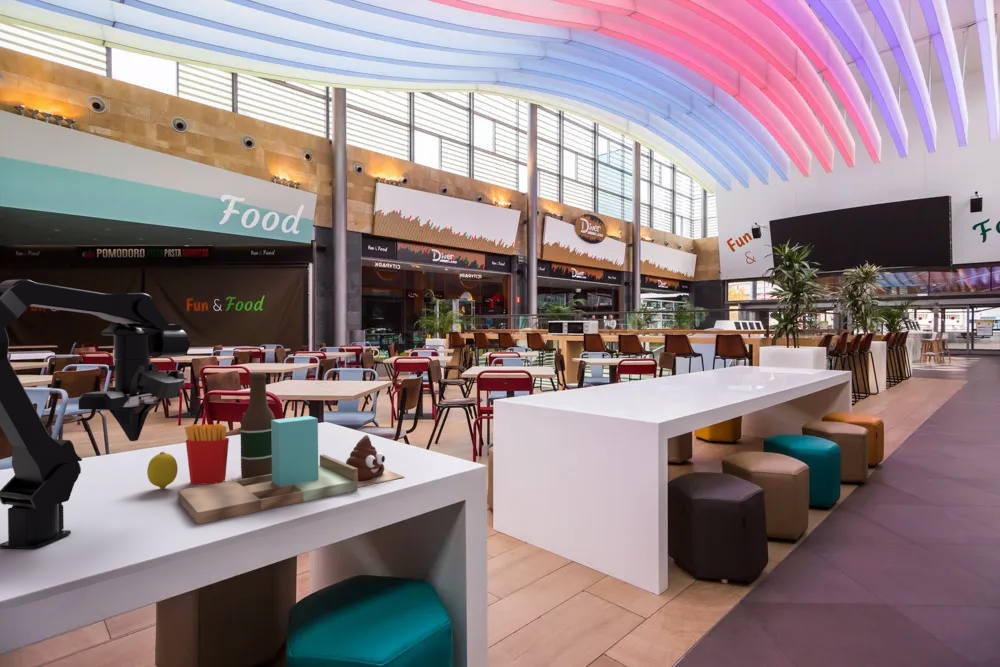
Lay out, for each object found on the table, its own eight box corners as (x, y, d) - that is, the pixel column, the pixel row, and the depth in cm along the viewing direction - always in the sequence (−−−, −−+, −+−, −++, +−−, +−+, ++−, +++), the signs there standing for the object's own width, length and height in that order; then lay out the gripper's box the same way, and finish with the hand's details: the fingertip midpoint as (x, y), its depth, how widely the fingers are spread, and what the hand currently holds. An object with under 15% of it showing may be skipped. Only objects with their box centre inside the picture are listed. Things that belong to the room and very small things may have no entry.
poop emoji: (364, 469, 130) (364, 430, 130) (393, 473, 126) (392, 433, 126) (335, 479, 121) (334, 438, 121) (364, 484, 117) (363, 441, 117)
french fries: (231, 478, 123) (231, 422, 123) (222, 483, 119) (221, 425, 119) (192, 479, 123) (191, 422, 123) (180, 484, 119) (180, 425, 119)
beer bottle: (264, 479, 122) (263, 374, 122) (233, 478, 123) (232, 374, 123) (283, 471, 130) (282, 371, 130) (254, 470, 131) (252, 371, 131)
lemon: (163, 493, 112) (162, 455, 112) (141, 492, 114) (140, 454, 114) (183, 485, 118) (183, 449, 118) (162, 484, 119) (161, 448, 119)
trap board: (197, 523, 94) (197, 498, 94) (178, 500, 108) (178, 477, 108) (357, 489, 113) (357, 468, 113) (324, 473, 127) (323, 454, 127)
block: (279, 486, 109) (279, 422, 109) (272, 481, 113) (271, 420, 113) (318, 479, 114) (317, 418, 114) (309, 474, 118) (308, 415, 118)
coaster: (351, 488, 114) (351, 487, 114) (326, 476, 124) (326, 475, 124) (404, 477, 123) (404, 476, 123) (377, 466, 132) (377, 466, 132)
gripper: (135, 361, 92) (136, 452, 92) (203, 356, 111) (204, 431, 111) (74, 362, 93) (76, 451, 93) (152, 356, 112) (154, 431, 112)
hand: (133, 440), depth 102 cm, fingers closed
